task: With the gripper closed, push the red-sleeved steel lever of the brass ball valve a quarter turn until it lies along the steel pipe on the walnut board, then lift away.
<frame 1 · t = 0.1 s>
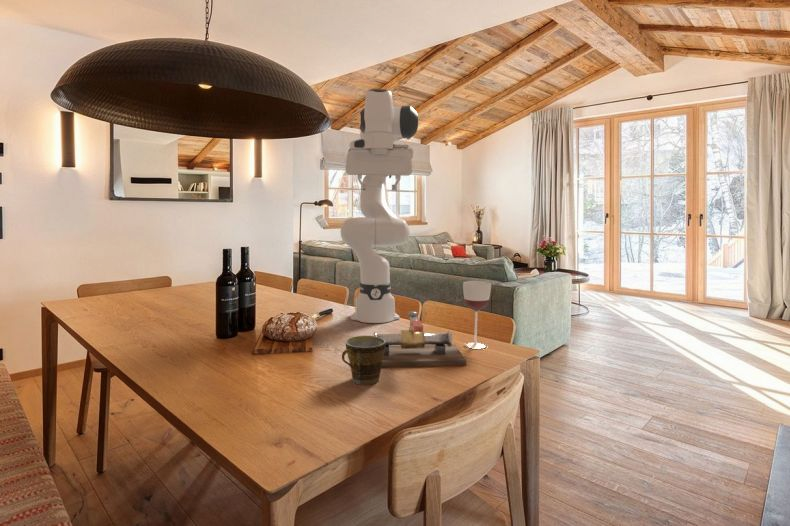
hand: (378, 190, 139), 48 cm above the table, fingers open, 8 cm apart
wineglass: (475, 346, 142), on the table
walnut board: (412, 357, 131), on the table
ceramic cup: (361, 382, 113), on the table
pipe valve: (412, 340, 130), on the walnut board, point 5 cm above the table
valve lever: (415, 324, 123), point 11 cm above the table, hinge at 0.0°
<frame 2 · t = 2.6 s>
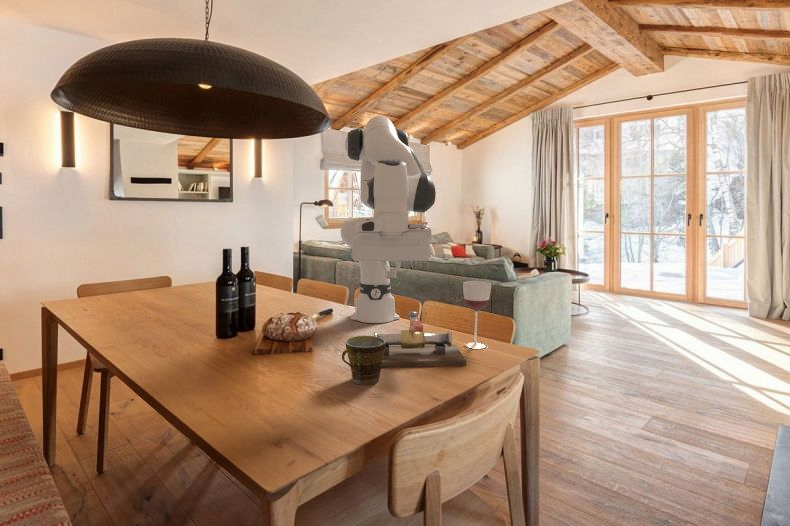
hand: (390, 278, 117), 25 cm above the table, fingers closed
nothing on the table moved.
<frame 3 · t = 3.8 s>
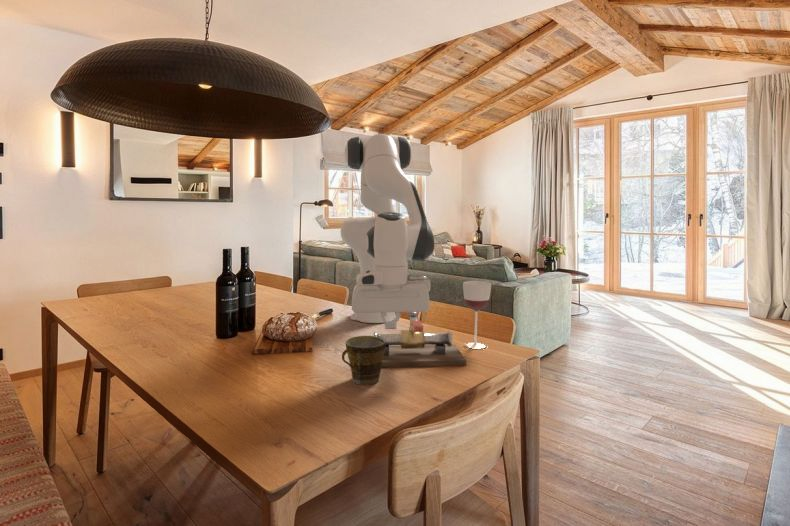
hand: (390, 328, 119), 11 cm above the table, fingers closed
nothing on the table moved.
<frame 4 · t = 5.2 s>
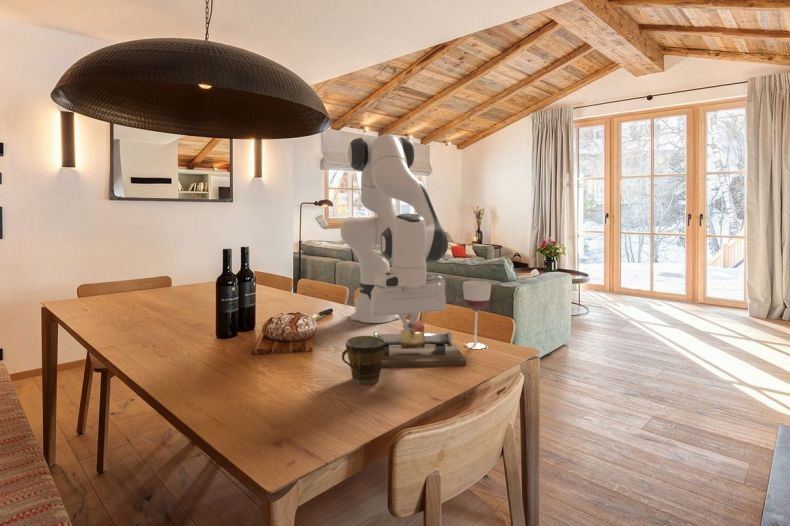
hand: (408, 329, 119), 11 cm above the table, fingers closed
valve lever: (415, 324, 123), point 11 cm above the table, hinge at 1.2°, touching gripper
everything else where it was.
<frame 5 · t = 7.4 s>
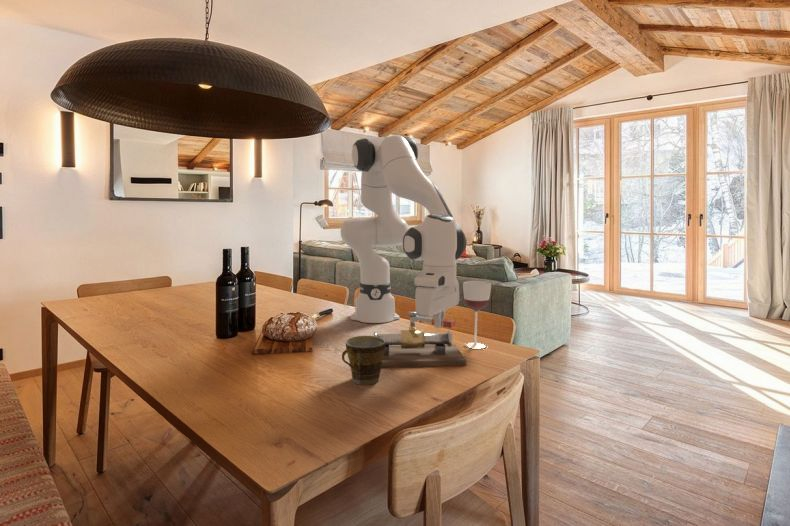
hand: (438, 327, 122), 11 cm above the table, fingers closed
valve lever: (430, 322, 126), point 11 cm above the table, hinge at 49.8°, touching gripper
everything else where it was.
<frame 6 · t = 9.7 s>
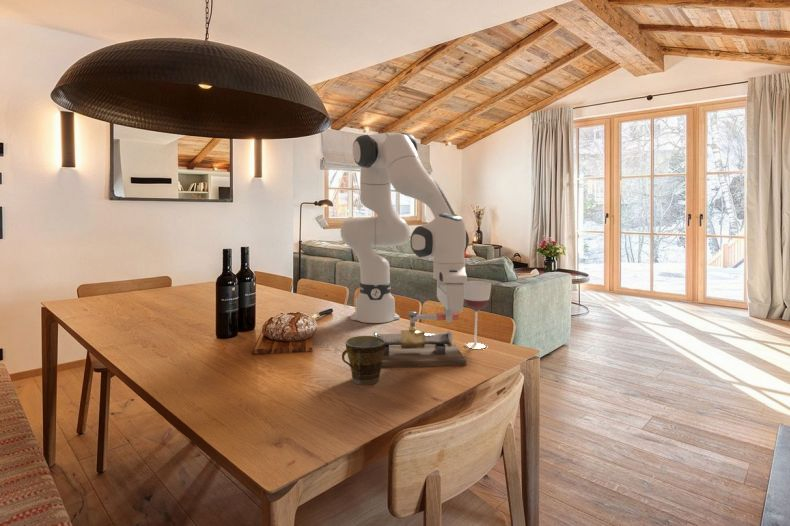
hand: (448, 321, 128), 11 cm above the table, fingers closed
valve lever: (432, 318, 130), point 11 cm above the table, hinge at 91.7°, touching gripper
everything else where it was.
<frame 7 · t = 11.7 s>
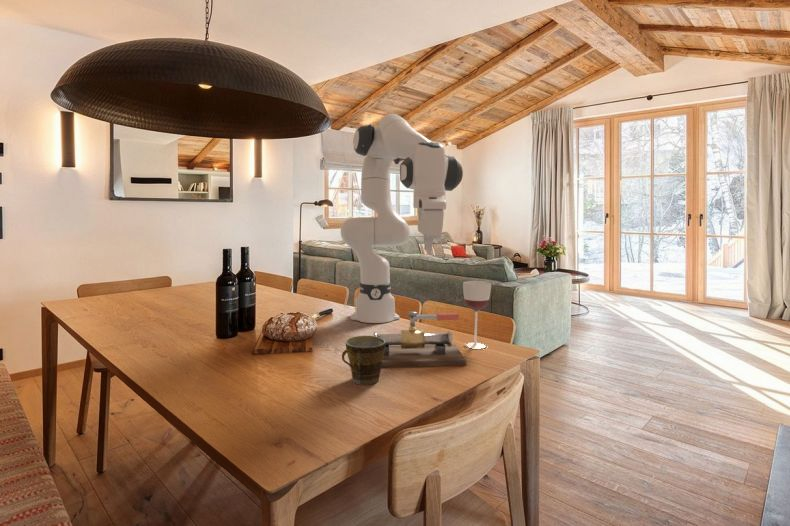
hand: (428, 251, 129), 31 cm above the table, fingers closed
valve lever: (432, 318, 130), point 11 cm above the table, hinge at 91.7°
everything else where it was.
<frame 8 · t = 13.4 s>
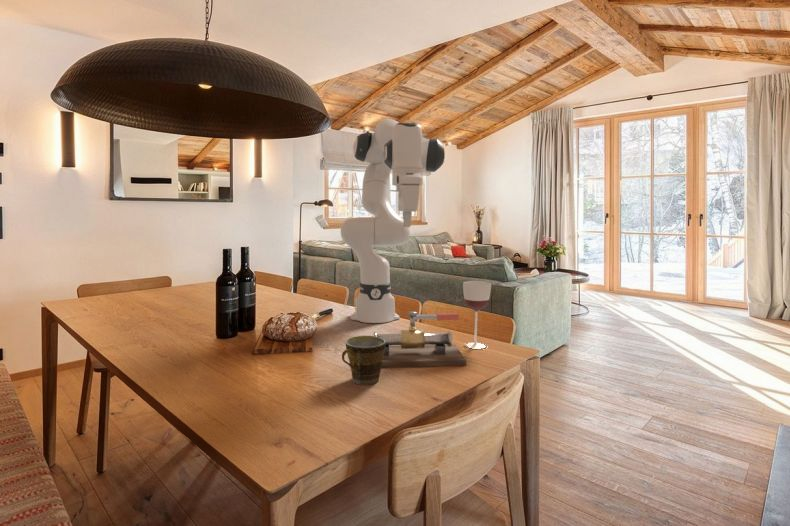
hand: (407, 227, 134), 37 cm above the table, fingers closed
nothing on the table moved.
at the end: valve lever at +92° (first picture: +0°) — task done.
